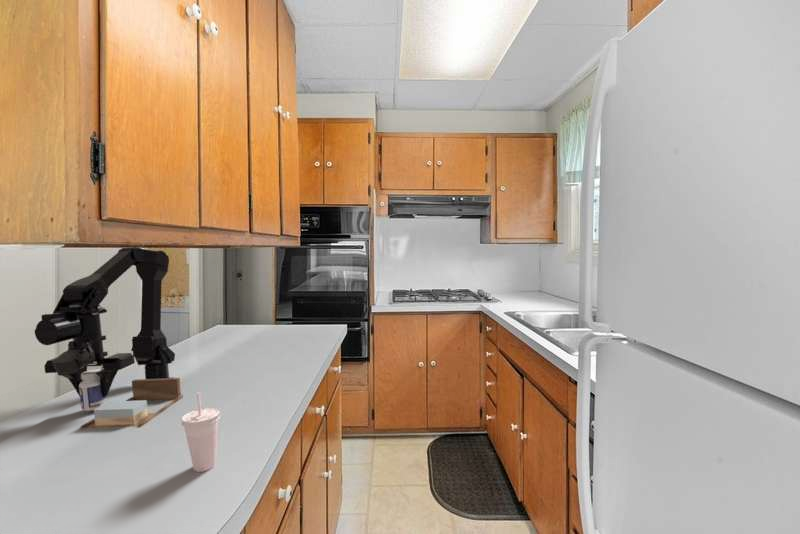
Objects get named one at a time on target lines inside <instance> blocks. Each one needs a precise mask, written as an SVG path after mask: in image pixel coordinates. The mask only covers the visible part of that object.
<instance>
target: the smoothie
mask: <svg viewBox="0 0 800 534" xmlns="http://www.w3.org/2000/svg"><path fill="white" fill-rule="evenodd" d="M196 404H197V409H196V410H193V411H190V412H187V413H185V414H184V415H183V416H182V417H181V426H182V427H183V428H184V433H185V437H186V442H187V445H188V450H189V455H190V458H191V463H192V469H193V471H194V472H198V473H200V472H201V473H202V472H207V471H210V470H212V469H213V468H214V467H215V466H216V465H217V449H218V432H219V431H218V430H219V429H218V428H219V419H220V417H221V414H220V413H221V412H220V410H219V409H217V408H213V407H212V408H211V407H208V408H207V407H206V408H202V402H201V391H200V392H199V391H198V392H196Z"/></svg>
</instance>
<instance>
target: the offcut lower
mask: <svg viewBox="0 0 800 534" xmlns="http://www.w3.org/2000/svg"><path fill="white" fill-rule="evenodd" d="M148 413H149V410H148V407H147V408H146V409H145V410H143V411H142V412H140V413H138V414H137V415H135V416H134V417H107V418H95V417H94V418H95V422H94V423H95V426H101V425H131V424H136V423H137V422H139V421H140V420H142V419H143V418H145V417H146V416H148Z"/></svg>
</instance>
